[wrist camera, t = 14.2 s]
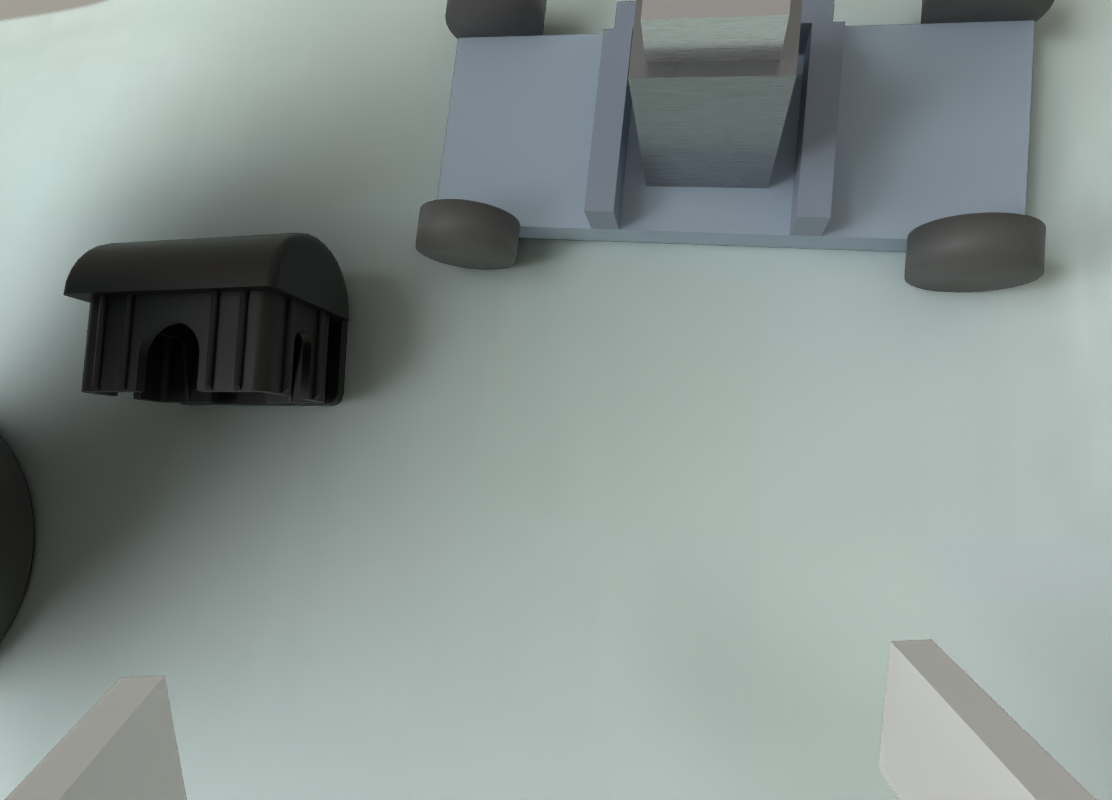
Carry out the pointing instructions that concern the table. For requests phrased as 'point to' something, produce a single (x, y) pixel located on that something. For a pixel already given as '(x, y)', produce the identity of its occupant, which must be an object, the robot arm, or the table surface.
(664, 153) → the capped grey pillar
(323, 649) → the table surface
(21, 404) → the table surface
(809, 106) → the chassis
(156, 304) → the black arched housing
